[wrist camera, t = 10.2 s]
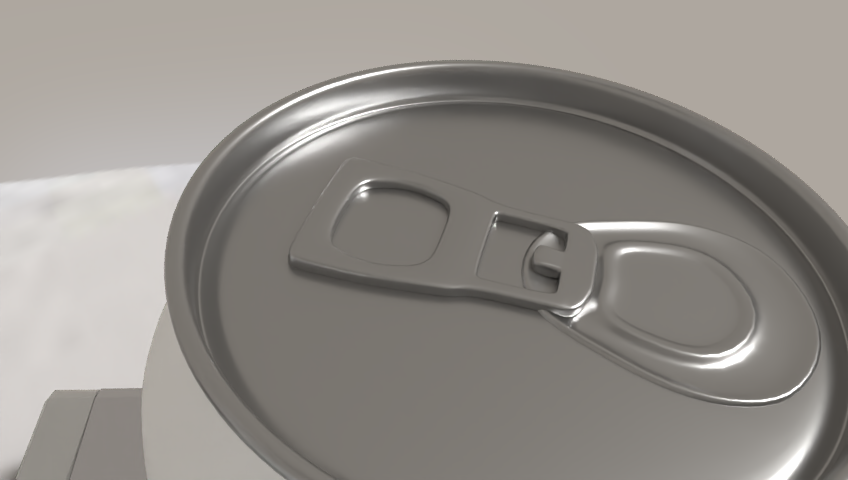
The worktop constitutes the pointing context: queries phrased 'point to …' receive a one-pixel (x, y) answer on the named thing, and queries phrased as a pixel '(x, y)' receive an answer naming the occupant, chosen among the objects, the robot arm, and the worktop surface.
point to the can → (496, 291)
